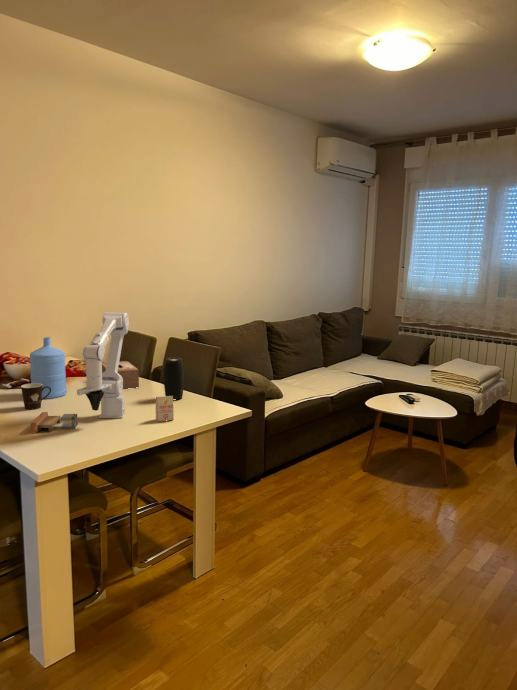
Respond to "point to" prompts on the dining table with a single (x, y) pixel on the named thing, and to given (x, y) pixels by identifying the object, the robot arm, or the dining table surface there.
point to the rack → (44, 422)
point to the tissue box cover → (126, 374)
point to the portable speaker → (174, 377)
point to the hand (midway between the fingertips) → (95, 409)
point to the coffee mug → (33, 395)
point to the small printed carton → (164, 408)
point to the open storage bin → (73, 418)
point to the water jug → (49, 369)
